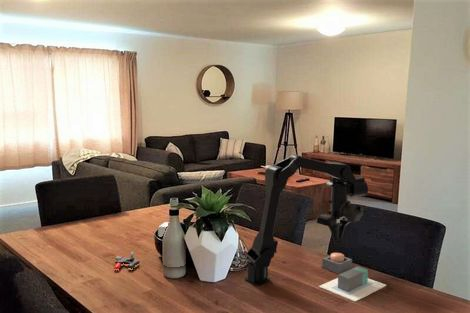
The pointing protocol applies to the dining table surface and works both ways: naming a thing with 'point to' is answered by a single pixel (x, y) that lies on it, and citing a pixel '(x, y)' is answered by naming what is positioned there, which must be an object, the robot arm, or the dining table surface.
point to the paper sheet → (355, 293)
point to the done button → (337, 257)
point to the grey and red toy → (126, 261)
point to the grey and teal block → (352, 279)
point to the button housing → (337, 265)
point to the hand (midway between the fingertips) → (338, 239)
